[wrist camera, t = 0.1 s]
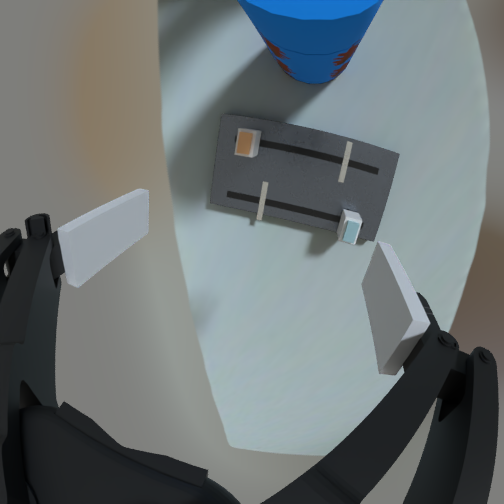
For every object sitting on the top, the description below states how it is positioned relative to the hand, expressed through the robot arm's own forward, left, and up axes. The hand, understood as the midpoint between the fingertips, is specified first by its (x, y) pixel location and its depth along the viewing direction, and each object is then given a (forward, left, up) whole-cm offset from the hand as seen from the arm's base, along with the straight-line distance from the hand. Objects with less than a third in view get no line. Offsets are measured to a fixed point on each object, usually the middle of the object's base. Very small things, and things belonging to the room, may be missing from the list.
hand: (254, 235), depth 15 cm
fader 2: (+6, +10, -26) cm, 28 cm away
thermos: (-18, 0, -28) cm, 33 cm away
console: (+1, +2, -28) cm, 28 cm away
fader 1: (-3, -6, -26) cm, 27 cm away
